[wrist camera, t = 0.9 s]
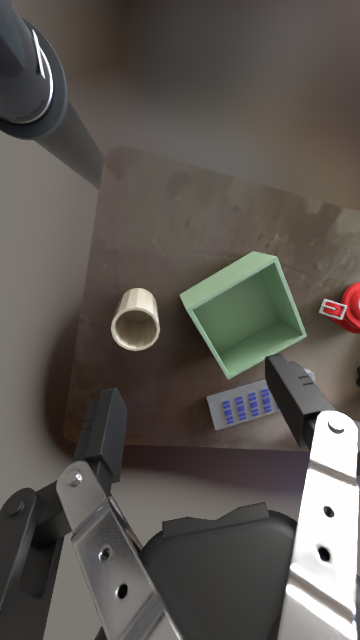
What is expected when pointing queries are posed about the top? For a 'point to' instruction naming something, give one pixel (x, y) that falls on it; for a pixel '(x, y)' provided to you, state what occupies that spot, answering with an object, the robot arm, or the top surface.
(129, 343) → the paper cup
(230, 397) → the remote control
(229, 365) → the bin
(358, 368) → the digital display
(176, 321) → the top surface
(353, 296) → the tracker holder
